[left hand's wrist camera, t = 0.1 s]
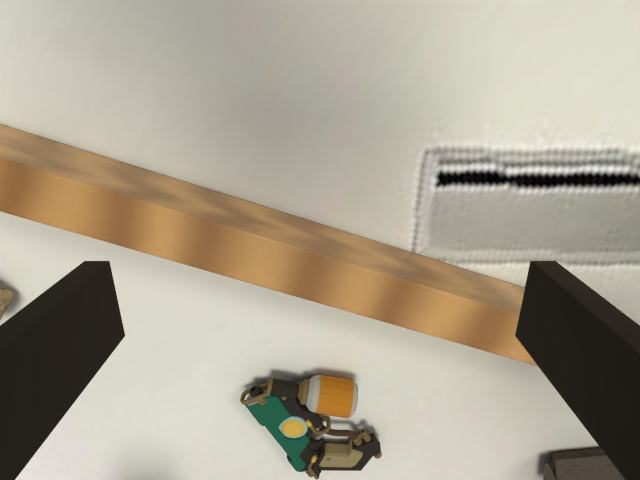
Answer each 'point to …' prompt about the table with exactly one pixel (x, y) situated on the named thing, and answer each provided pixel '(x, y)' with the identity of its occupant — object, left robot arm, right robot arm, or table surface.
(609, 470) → the toy
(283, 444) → the spray gun
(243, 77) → the table surface
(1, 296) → the sculpture
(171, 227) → the beam
